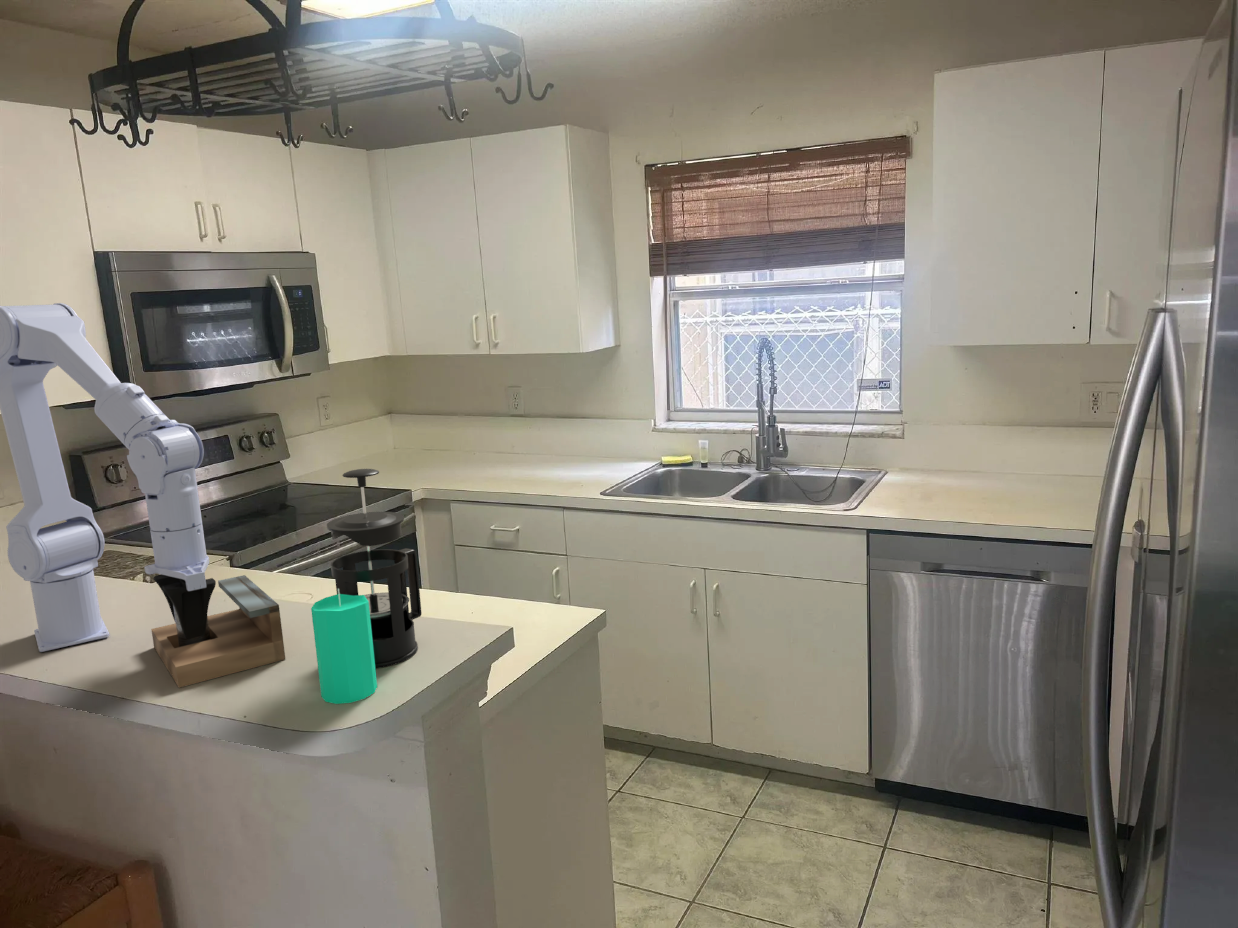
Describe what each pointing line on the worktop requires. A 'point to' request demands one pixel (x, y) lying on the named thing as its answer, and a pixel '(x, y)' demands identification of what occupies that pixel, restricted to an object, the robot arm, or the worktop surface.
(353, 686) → the candle
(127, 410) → the robot arm
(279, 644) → the socket board
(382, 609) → the french press
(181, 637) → the peg
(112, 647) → the worktop surface
